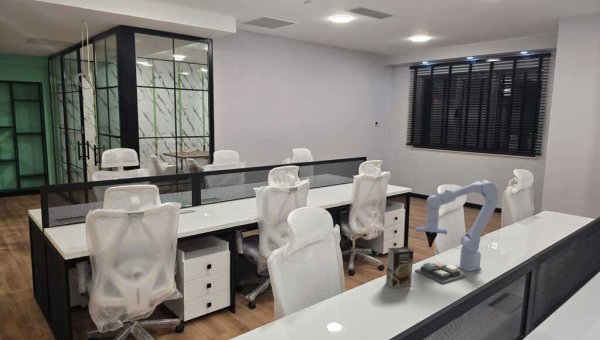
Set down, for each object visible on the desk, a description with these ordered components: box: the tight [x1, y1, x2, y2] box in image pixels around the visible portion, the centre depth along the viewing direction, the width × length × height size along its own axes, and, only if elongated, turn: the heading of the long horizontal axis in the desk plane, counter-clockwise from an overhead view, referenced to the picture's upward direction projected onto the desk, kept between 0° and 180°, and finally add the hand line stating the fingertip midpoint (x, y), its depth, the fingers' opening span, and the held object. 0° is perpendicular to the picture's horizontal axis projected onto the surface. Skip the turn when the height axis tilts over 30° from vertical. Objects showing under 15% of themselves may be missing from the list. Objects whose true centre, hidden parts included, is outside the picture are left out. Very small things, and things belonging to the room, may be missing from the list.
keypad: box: [414, 261, 467, 285], centre depth 191 cm, size 16×16×3 cm
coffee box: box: [385, 246, 414, 289], centre depth 177 cm, size 9×6×16 cm
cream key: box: [445, 264, 459, 273], centre depth 189 cm, size 4×4×2 cm
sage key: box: [435, 270, 448, 275], centre depth 186 cm, size 4×4×2 cm
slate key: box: [422, 262, 436, 270], centre depth 192 cm, size 4×4×2 cm
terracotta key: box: [433, 261, 447, 267], centre depth 196 cm, size 4×4×2 cm
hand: (430, 246), depth 202 cm, fingers closed
